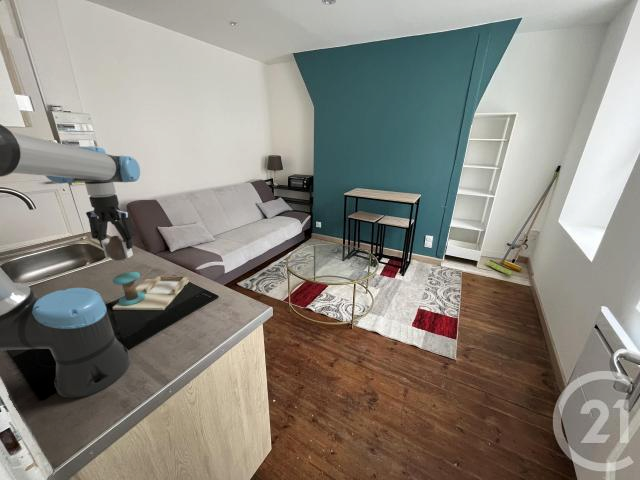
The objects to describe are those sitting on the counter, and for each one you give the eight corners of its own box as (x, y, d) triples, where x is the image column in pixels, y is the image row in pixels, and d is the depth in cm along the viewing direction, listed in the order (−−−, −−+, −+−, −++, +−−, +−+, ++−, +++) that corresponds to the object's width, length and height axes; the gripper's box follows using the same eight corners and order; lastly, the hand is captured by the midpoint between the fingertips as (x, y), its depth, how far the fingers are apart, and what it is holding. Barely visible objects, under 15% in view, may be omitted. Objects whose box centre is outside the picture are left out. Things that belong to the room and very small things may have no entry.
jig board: (163, 310, 95) (157, 284, 91) (113, 309, 94) (104, 284, 90) (188, 281, 113) (184, 259, 109) (146, 281, 113) (141, 259, 109)
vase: (112, 264, 94) (105, 241, 91) (107, 258, 98) (100, 237, 95) (134, 258, 99) (128, 236, 96) (129, 253, 103) (122, 232, 100)
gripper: (138, 193, 93) (152, 252, 101) (83, 192, 93) (101, 251, 101) (123, 197, 86) (139, 261, 94) (64, 196, 86) (84, 259, 94)
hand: (119, 256), depth 98 cm, fingers closed on vase, 7 cm apart
